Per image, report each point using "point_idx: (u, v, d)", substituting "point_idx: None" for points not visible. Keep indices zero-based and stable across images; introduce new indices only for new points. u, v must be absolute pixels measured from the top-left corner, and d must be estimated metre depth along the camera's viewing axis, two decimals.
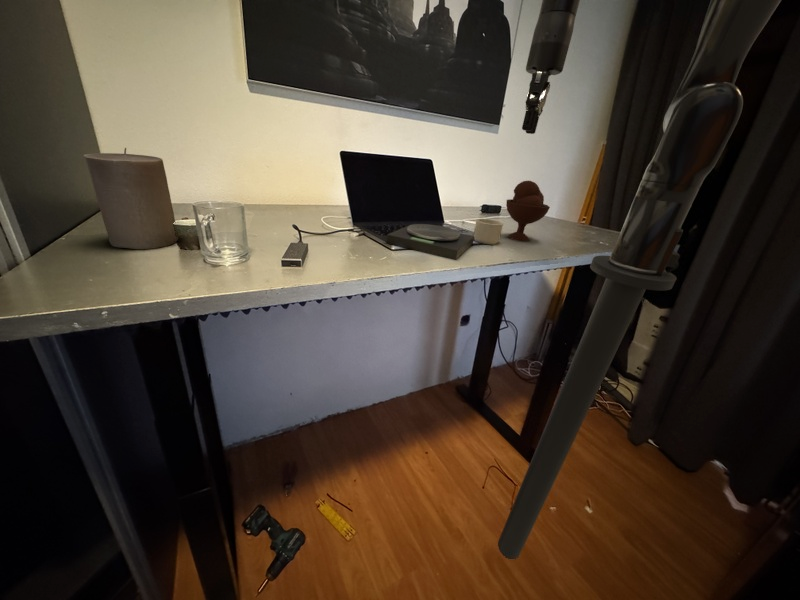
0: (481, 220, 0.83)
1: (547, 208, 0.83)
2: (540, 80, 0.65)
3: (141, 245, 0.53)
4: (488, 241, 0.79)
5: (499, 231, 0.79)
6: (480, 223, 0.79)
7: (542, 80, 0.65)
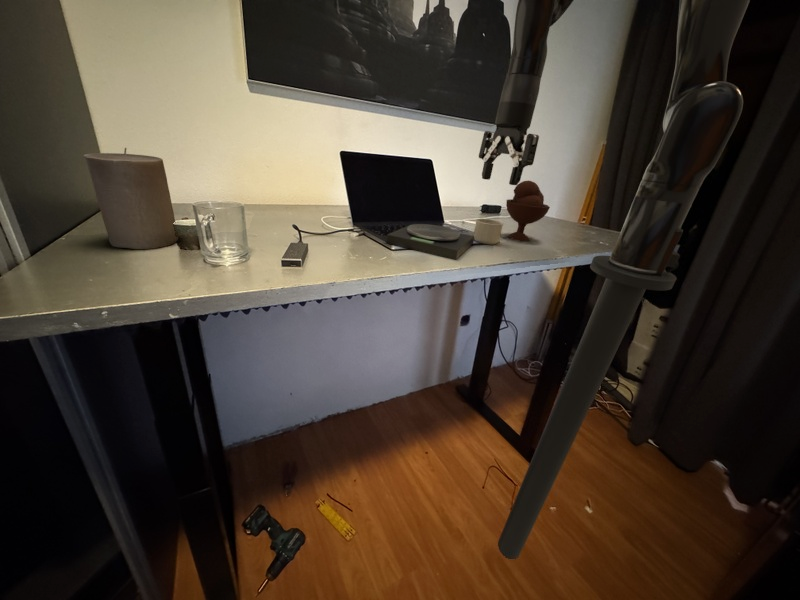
0: (481, 220, 0.83)
1: (547, 208, 0.83)
2: (535, 143, 0.68)
3: (141, 245, 0.53)
4: (488, 241, 0.79)
5: (499, 231, 0.79)
6: (480, 223, 0.79)
7: (536, 143, 0.68)
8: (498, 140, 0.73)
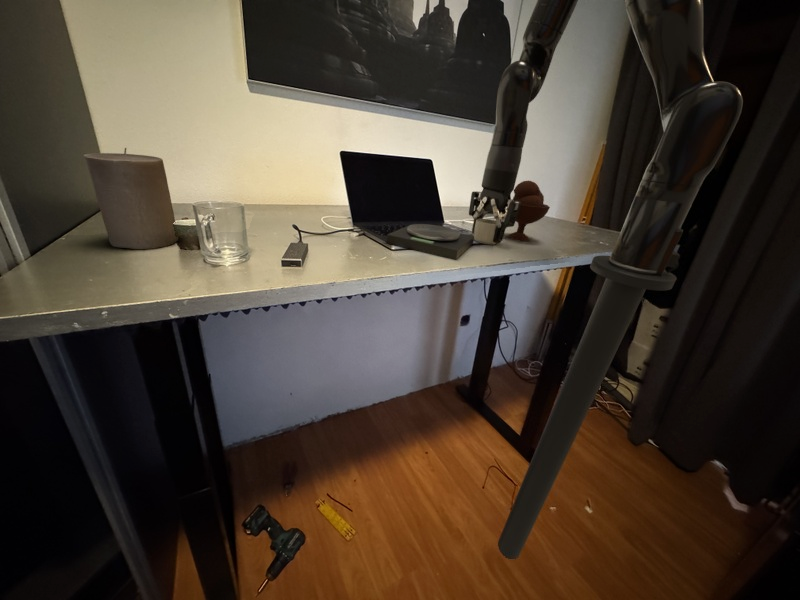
0: (481, 220, 0.83)
1: (547, 208, 0.83)
2: (517, 209, 0.74)
3: (141, 245, 0.53)
4: (488, 241, 0.79)
5: None
6: (480, 223, 0.79)
7: (518, 209, 0.74)
8: (484, 200, 0.78)
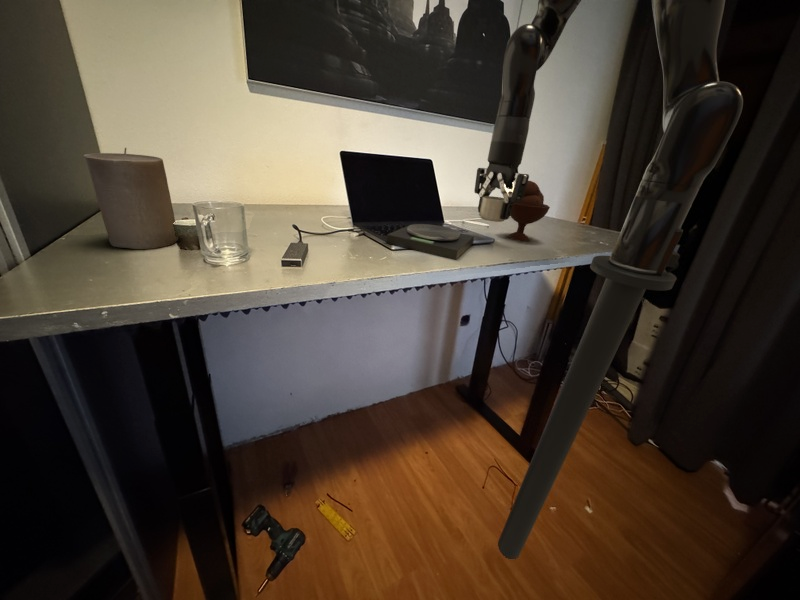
0: (487, 197, 0.80)
1: (547, 208, 0.83)
2: (525, 182, 0.71)
3: (141, 245, 0.53)
4: (495, 218, 0.77)
5: None
6: (487, 199, 0.77)
7: (526, 182, 0.72)
8: (491, 176, 0.76)
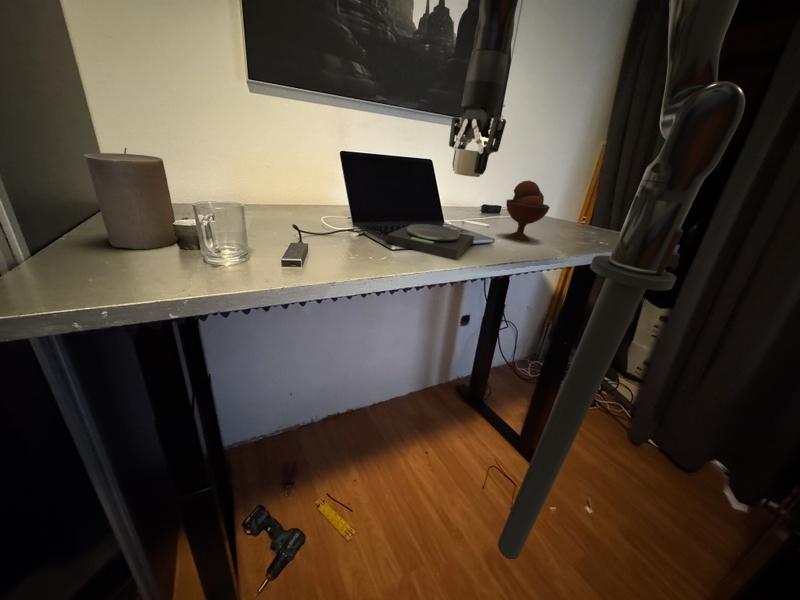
0: None
1: (547, 208, 0.83)
2: (501, 128, 0.63)
3: (141, 245, 0.53)
4: (469, 172, 0.69)
5: None
6: (460, 150, 0.69)
7: (503, 128, 0.63)
8: (465, 124, 0.68)
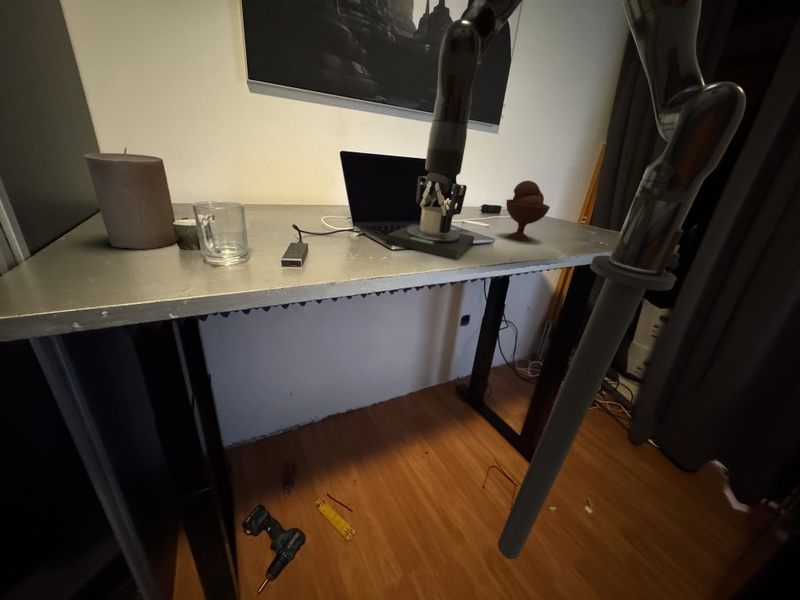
0: (429, 208, 0.74)
1: (547, 208, 0.83)
2: (462, 194, 0.65)
3: (141, 245, 0.53)
4: (434, 231, 0.71)
5: None
6: (425, 211, 0.70)
7: (464, 194, 0.65)
8: (429, 185, 0.70)
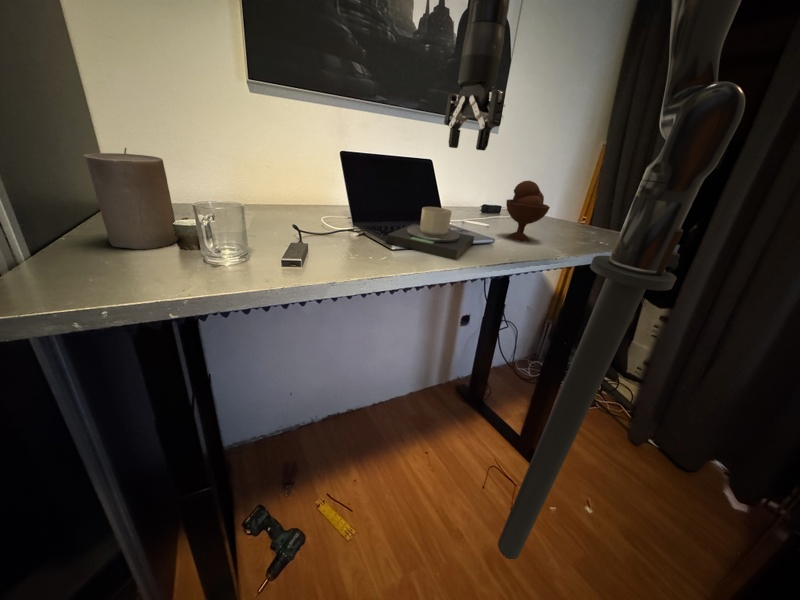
0: (429, 208, 0.74)
1: (547, 208, 0.83)
2: (501, 100, 0.61)
3: (141, 245, 0.53)
4: (434, 231, 0.71)
5: (446, 220, 0.70)
6: (425, 211, 0.70)
7: (503, 100, 0.62)
8: (462, 101, 0.66)
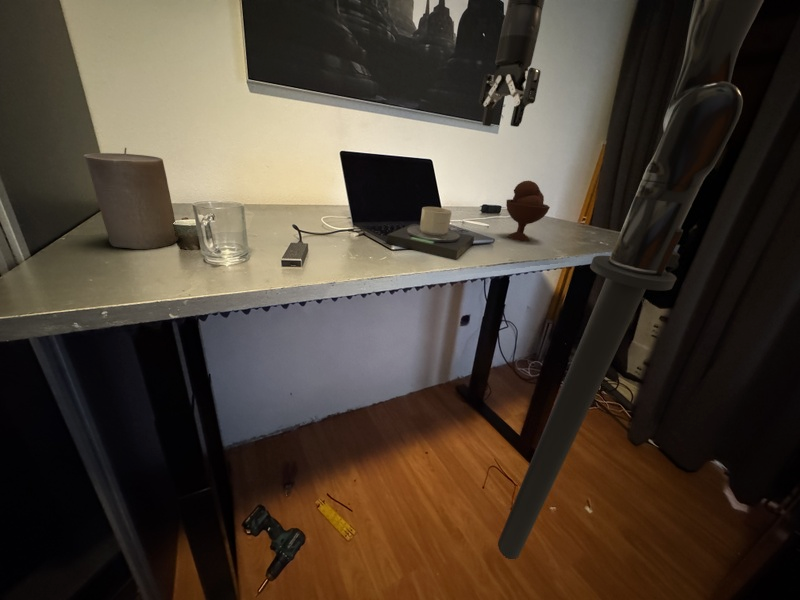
0: (429, 208, 0.74)
1: (547, 208, 0.83)
2: (537, 78, 0.66)
3: (141, 245, 0.53)
4: (434, 231, 0.71)
5: (446, 220, 0.70)
6: (425, 211, 0.70)
7: (538, 78, 0.66)
8: (498, 80, 0.71)
